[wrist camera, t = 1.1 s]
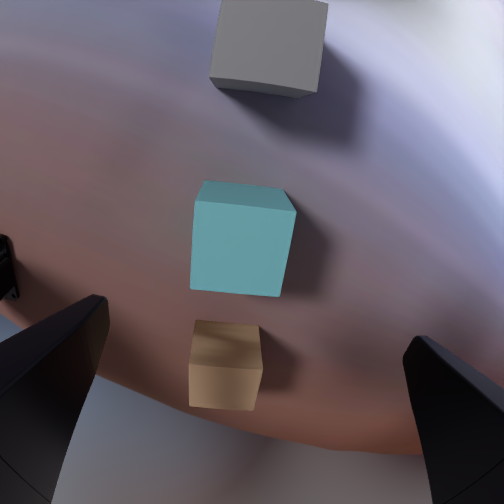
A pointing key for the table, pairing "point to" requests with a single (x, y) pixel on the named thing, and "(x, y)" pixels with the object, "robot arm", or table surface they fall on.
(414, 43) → the table surface
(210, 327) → the walnut cube
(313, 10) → the gray cube
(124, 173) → the table surface
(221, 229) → the teal cube
